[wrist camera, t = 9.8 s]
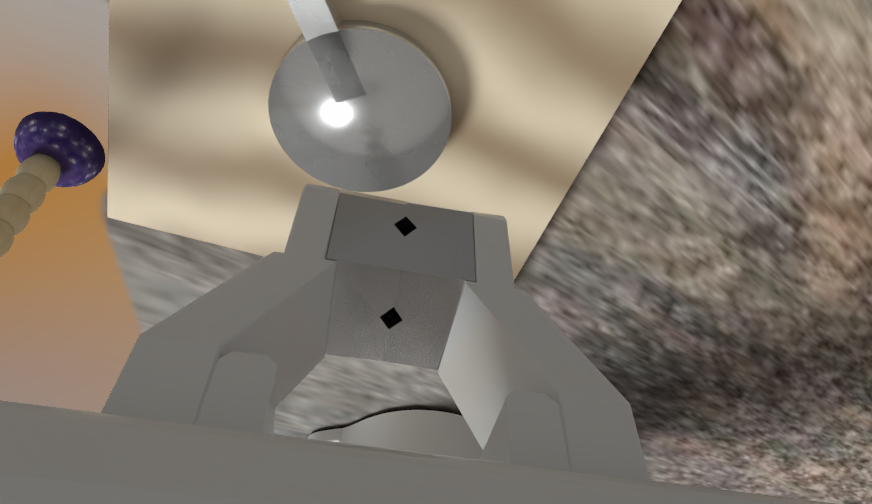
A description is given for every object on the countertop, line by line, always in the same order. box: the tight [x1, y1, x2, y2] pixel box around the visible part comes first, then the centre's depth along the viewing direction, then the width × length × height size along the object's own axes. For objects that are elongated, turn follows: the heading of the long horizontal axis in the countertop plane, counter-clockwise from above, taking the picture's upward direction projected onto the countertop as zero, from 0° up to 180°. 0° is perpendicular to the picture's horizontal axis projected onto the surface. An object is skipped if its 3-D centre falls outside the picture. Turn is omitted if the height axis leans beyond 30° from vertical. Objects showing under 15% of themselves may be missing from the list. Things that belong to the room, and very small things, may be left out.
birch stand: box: [108, 0, 682, 280], centre depth 30 cm, size 22×22×2 cm
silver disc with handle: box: [268, 0, 451, 192], centre depth 25 cm, size 14×8×5 cm, turn 18°
